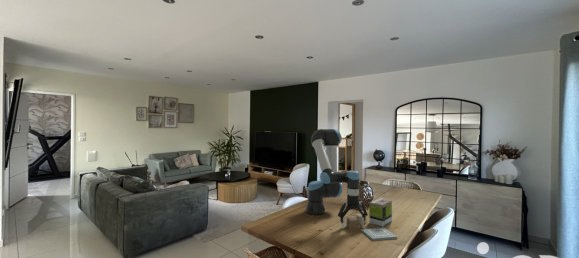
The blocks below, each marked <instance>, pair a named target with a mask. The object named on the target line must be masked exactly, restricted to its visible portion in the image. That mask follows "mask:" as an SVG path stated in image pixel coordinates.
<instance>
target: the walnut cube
mask: <svg viewBox="0 0 579 258" xmlns="http://www.w3.org/2000/svg"><path fill="white" fill-rule="evenodd" d="M345 225H346V227H347V228H348V229H349V230H350V231H351V230H360V224H359V220H358V219H357V218H356V216H350V217H349V216H348V217H346V224H345Z"/></svg>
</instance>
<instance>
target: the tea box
mask: <svg viewBox="0 0 579 258" xmlns="http://www.w3.org/2000/svg"><path fill="white" fill-rule="evenodd" d="M392 206H393V201H392V199H391V200H390V199H385V198H381V197H378V198H376V199H374V200H371V201H369V208H368V209H369V210H368V211H369V215H368V216H369V220H368V221H369V223H370V224H373V225H377V226H380V227H384V226H385V225H387V224H389V223H390V222H392V221H393V207H392Z"/></svg>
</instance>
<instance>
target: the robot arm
mask: <svg viewBox="0 0 579 258" xmlns="http://www.w3.org/2000/svg"><path fill="white" fill-rule="evenodd" d="M310 142H311V146H312V147H313V148H314V152H315V155H316V157H317V162H318V163H319V167H320V171H321V173H320V174H319V179H320V180H314V181H311V182H309V183H308V185H307V186H308V188H307V192H308V193H307V195H308V196H307V197H308V198H307V203H306V207H305V213H307V214H309V215H314V216H320V215H324V214H325V213H326V208H325V205H324V199H330V198H332V199H333V198H340V196H342V193H343V184H345V183H346V184H347V185H346V186H347V187H346V191H347V192H346V194H347V195H346V202H344V201H343V202H342V205H341V207H340V209H339V211H338V214H337V217H338V218H340V223H341V228H342V229H345V216H346V215H347V214H348V212H349V211H350V210H357V211H358V212H359V214H361V215H362V216H361V224H360V226H361V227H362V228H364V225H365V223H364V221H365V217H366V218H367V217H368V216H369V215H368V212H367V210H366V208H365V205H364V202H363V201H362V200H360V196H359V195H360V174H359V171H357V170H348V171H347V170H341V171H338V151H337V148H338V147H339V145H340V144H341V142H342V134H341V132H340V131H339V130H338V129H335V128H334V129H333V128H330V129H329V128H328V129H327V128H320V129H319V128H318V129H317V130H315V131H314V132H313V134H312V135H311V140H310ZM342 183H343V184H342ZM359 205H360V206H359Z"/></svg>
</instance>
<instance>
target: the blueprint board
mask: <svg viewBox="0 0 579 258" xmlns="http://www.w3.org/2000/svg"><path fill="white" fill-rule="evenodd" d="M360 231H361V232H362V234H364V235H365V236H366V237H367V238H369V239H370V240H371V241H384V240H397V239H398V236H397V235H396V234H394V233H392V232H391V231H390V230H389V229H387V228H385V227H384V226H382V227H373V228H361V229H360Z"/></svg>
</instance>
